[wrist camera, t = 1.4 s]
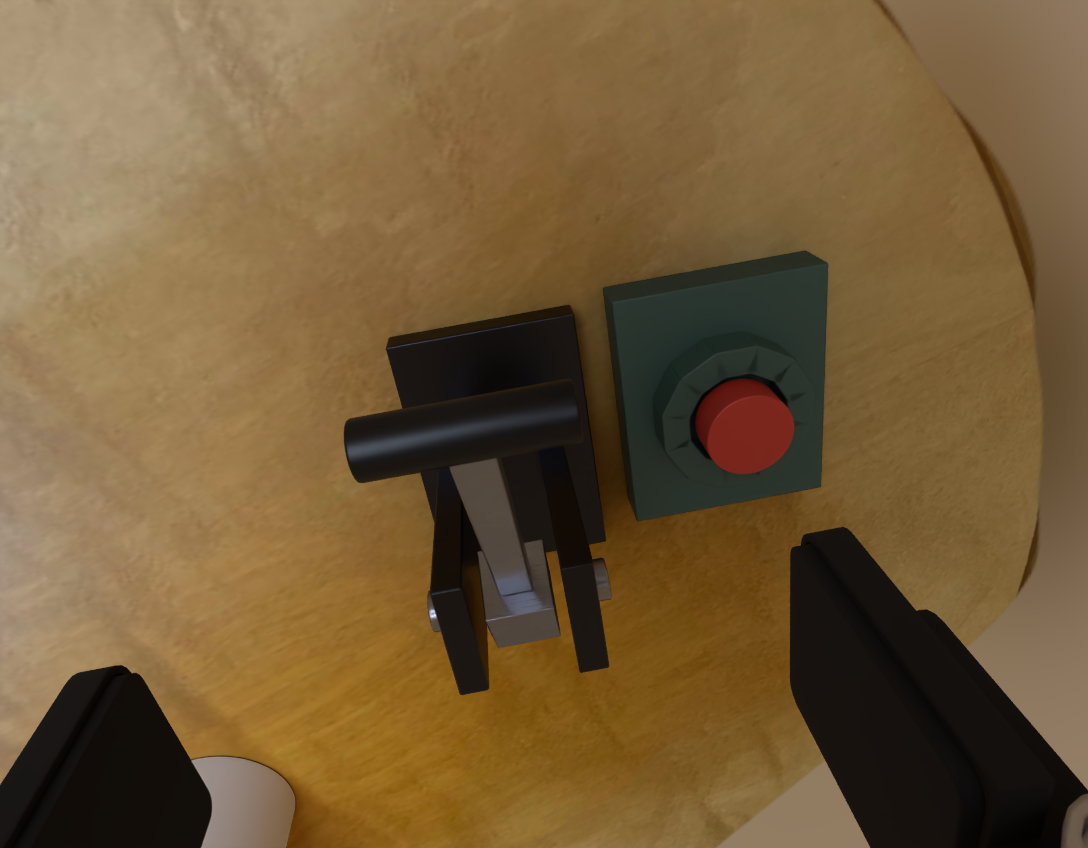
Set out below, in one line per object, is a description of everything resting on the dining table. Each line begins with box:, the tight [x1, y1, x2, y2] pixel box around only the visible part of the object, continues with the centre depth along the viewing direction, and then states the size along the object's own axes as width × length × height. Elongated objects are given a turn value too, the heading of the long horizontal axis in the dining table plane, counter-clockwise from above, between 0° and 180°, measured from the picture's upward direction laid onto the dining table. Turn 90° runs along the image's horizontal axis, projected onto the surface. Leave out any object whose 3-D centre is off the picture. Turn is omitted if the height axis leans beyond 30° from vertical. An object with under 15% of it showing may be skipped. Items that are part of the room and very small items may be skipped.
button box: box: [603, 251, 828, 521], centre depth 31 cm, size 11×9×4 cm
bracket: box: [386, 305, 612, 695], centre depth 28 cm, size 12×8×13 cm, turn 9°
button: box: [695, 379, 794, 474], centre depth 29 cm, size 4×4×2 cm
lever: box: [344, 378, 584, 648], centre depth 20 cm, size 12×5×2 cm, turn 9°
